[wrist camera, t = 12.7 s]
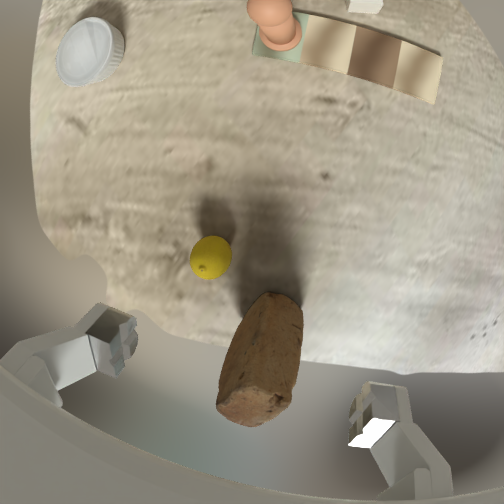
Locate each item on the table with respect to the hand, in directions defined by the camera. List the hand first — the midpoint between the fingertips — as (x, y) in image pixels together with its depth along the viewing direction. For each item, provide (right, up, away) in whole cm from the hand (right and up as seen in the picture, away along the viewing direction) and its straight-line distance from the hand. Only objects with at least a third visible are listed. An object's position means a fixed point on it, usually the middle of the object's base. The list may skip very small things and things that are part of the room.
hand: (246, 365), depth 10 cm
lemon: (-5, +5, +36) cm, 37 cm away
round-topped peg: (+4, +31, +21) cm, 37 cm away
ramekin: (-23, +34, +26) cm, 49 cm away
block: (+3, -6, +40) cm, 41 cm away
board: (+13, +29, +21) cm, 38 cm away
